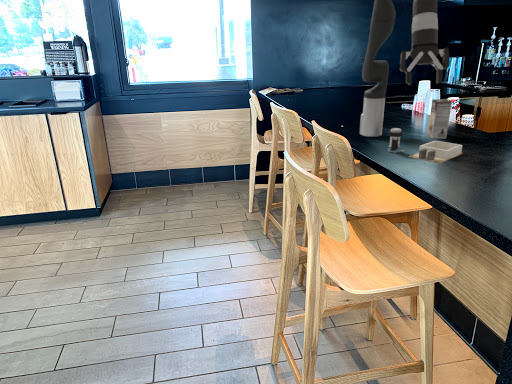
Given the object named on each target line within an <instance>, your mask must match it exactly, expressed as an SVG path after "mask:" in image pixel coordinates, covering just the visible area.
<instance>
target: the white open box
mask: <svg viewBox="0 0 512 384" xmlns="http://www.w3.org/2000/svg"><path fill="white" fill-rule="evenodd" d="M422 149H427V153H426V155H428V152H429V151H432V150H434V151H436V152H435V157H438V158H443V159H448V158H450V157H453V156H455V155H457V154H460V153H462V150H463V145H462V144H458V143H452V142H445V141H440V140H432V141H430V142H427V143H423V144H422V145H419V149H418V152H419V151H420V150H422ZM460 155H461V154H460ZM453 158H454V157H453Z"/></svg>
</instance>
